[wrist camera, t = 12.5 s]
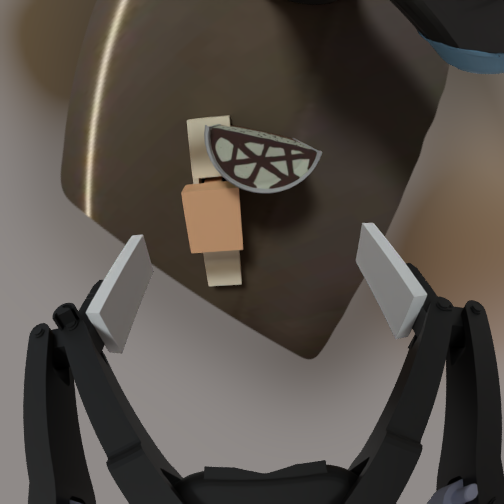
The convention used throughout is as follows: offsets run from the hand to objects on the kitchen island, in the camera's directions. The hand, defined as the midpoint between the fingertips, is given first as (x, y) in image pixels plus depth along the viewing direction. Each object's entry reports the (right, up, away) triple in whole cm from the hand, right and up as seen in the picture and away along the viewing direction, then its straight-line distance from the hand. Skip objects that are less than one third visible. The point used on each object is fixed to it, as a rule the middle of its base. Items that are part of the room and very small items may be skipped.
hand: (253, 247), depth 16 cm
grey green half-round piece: (0, +13, +19) cm, 23 cm away
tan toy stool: (-5, +7, +21) cm, 23 cm away
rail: (-5, +7, +22) cm, 23 cm away
